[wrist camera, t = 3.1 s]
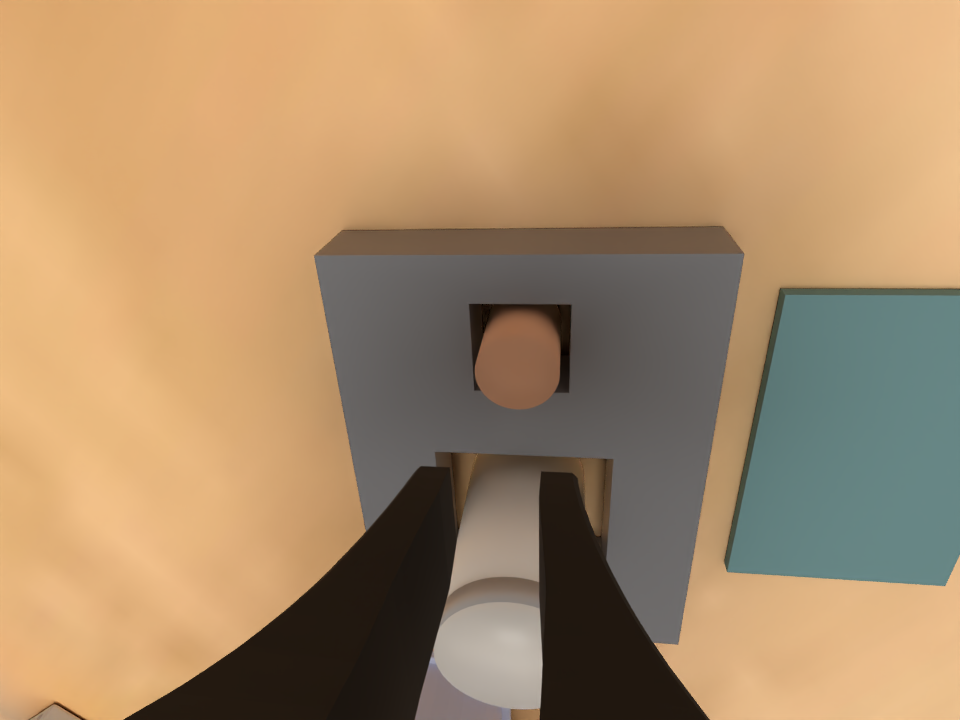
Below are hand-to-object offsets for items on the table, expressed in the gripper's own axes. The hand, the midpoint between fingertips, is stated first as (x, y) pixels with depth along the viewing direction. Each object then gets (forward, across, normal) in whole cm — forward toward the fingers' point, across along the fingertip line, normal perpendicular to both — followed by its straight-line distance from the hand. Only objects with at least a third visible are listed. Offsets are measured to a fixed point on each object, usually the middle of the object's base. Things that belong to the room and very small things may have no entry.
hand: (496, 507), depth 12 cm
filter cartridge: (+9, 0, +7) cm, 12 cm away
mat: (+9, -12, +5) cm, 16 cm away
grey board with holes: (+9, 0, +5) cm, 11 cm away
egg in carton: (+9, 0, 0) cm, 9 cm away
